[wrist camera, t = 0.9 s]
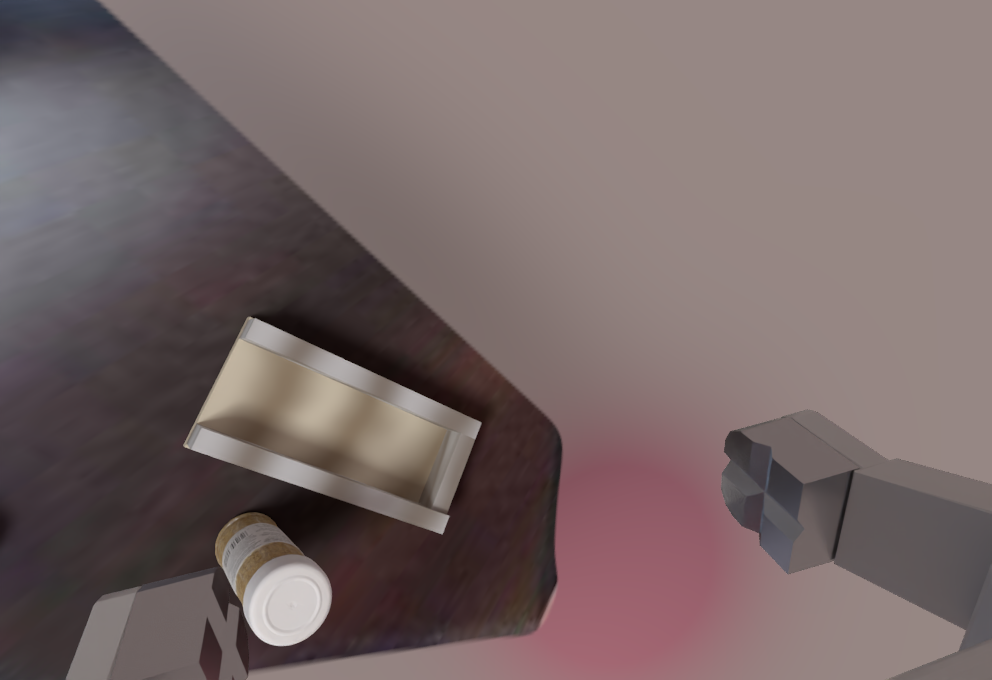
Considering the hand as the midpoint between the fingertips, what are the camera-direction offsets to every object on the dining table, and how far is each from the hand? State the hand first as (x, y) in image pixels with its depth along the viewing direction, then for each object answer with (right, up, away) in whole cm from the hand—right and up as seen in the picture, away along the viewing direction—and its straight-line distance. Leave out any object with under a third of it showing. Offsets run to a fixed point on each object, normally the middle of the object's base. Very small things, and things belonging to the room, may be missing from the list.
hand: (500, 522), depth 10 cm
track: (-13, -4, +39) cm, 41 cm away
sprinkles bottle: (-18, -12, +35) cm, 42 cm away
